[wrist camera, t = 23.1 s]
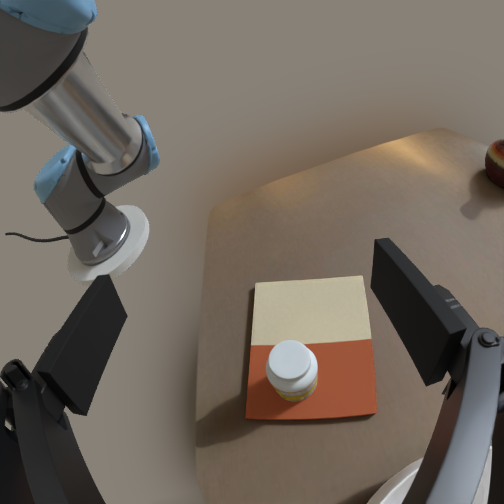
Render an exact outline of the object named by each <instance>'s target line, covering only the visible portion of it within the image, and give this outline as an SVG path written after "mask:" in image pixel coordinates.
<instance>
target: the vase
mask: <svg viewBox="0 0 504 504" xmlns="http://www.w3.org/2000/svg"><path fill="white" fill-rule="evenodd" d="M485 167H486V171H487V174H488V176H489V178H490V179H491V180H492V181H493V182H494V183H496V184H497V185H499V186H501V187H503V188H504V139H500V140H497V141H495V142H493V143H492V144H491V145H490V146H489V148H488V150H487V153H486V157H485Z"/></svg>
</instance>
